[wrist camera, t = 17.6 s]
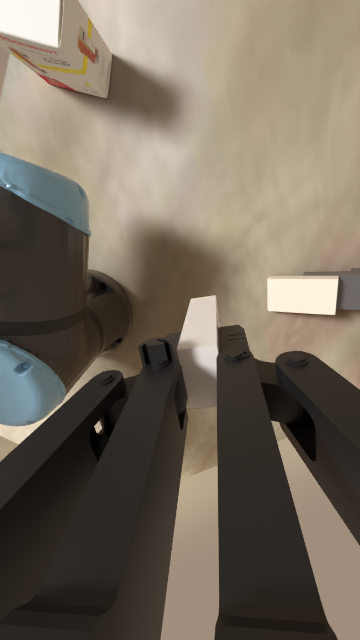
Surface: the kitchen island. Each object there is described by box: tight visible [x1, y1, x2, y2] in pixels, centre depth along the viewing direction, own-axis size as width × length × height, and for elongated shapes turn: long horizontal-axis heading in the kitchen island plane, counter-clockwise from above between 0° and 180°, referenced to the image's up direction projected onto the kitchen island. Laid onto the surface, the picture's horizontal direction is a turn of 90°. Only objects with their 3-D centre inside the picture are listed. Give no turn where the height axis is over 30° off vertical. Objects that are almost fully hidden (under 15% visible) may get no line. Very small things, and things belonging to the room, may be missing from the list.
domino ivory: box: [268, 276, 339, 315], centre depth 38 cm, size 2×5×9 cm
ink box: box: [0, 0, 112, 98], centre depth 28 cm, size 9×5×12 cm, turn 75°
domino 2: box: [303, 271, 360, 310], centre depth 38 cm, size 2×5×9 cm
